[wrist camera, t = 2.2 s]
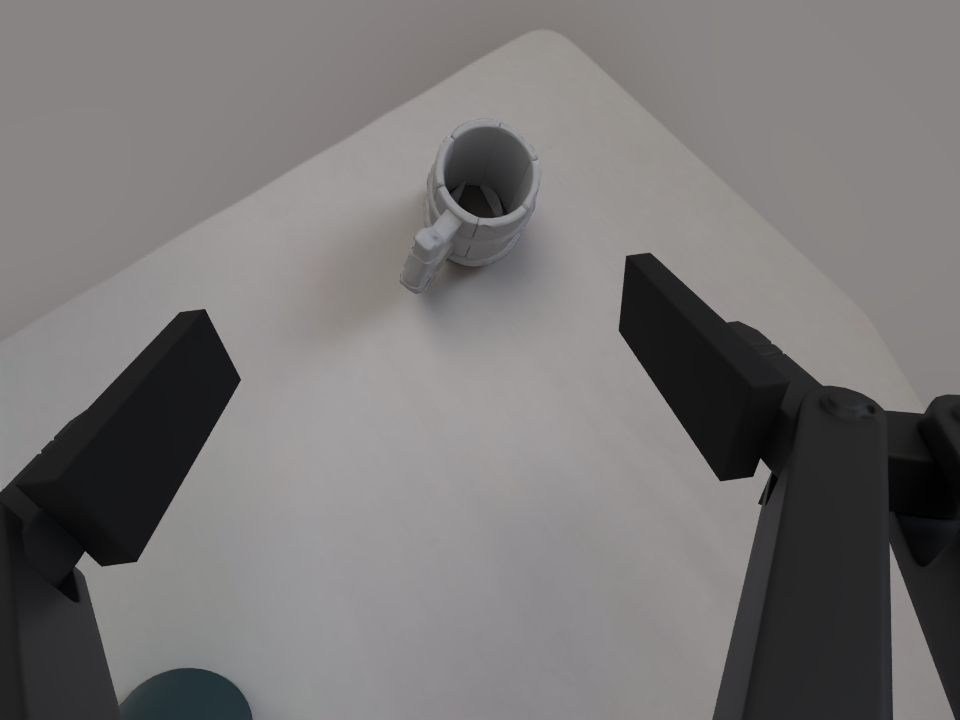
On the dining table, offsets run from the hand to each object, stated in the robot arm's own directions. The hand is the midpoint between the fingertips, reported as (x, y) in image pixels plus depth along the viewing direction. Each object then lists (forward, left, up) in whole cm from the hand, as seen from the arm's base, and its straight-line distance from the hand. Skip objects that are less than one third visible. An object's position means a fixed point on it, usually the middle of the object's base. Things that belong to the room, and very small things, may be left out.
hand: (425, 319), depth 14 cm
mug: (-7, +4, -21) cm, 23 cm away
